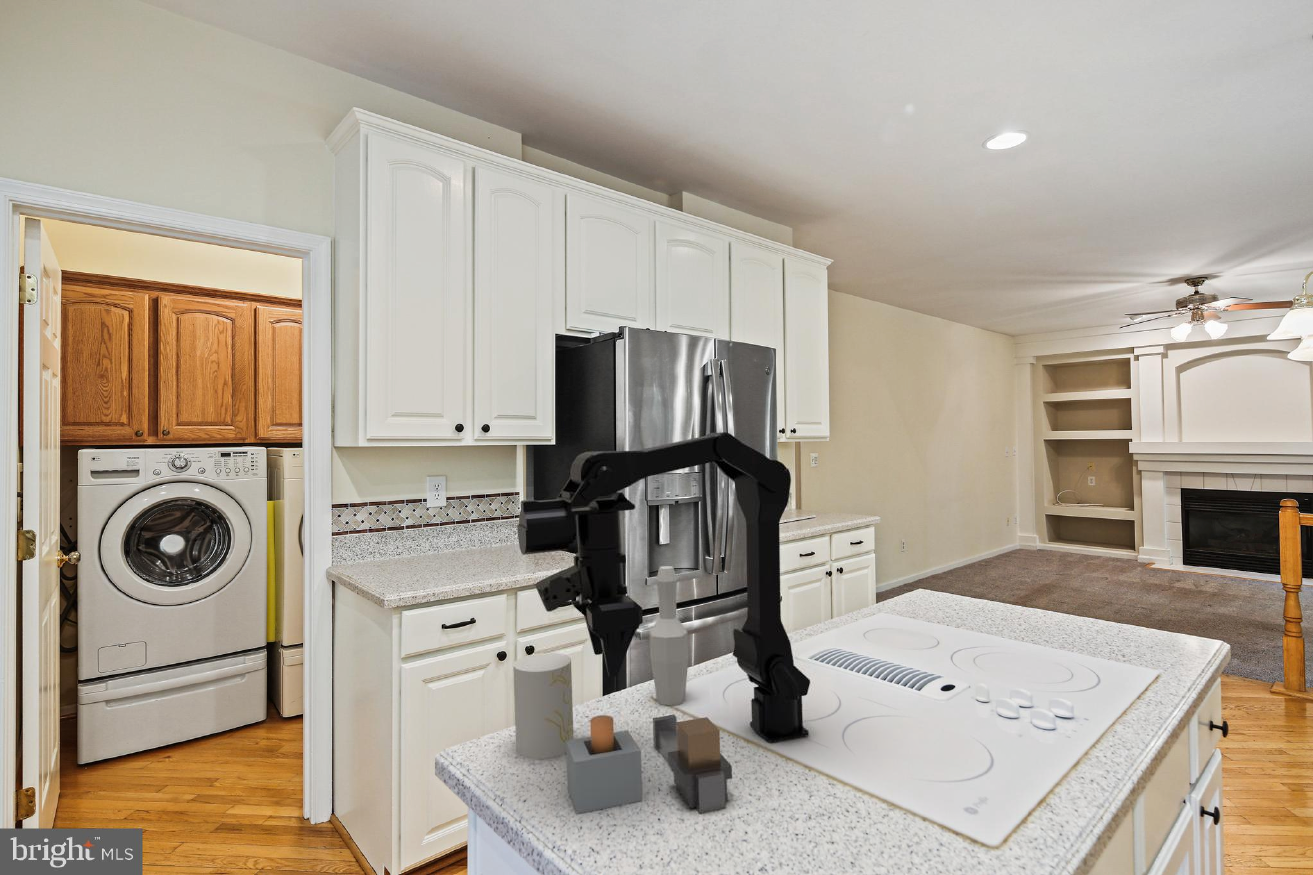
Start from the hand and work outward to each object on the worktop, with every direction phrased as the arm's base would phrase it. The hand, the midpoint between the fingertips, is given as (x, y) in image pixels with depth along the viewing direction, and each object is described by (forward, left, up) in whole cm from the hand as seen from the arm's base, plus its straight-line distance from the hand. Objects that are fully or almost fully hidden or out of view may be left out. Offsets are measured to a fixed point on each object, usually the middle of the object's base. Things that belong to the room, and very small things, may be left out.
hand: (605, 664), depth 87 cm
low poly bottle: (-15, -19, -14) cm, 28 cm away
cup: (+7, -10, -14) cm, 19 cm away
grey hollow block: (+2, +6, -14) cm, 15 cm away
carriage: (-9, +10, -14) cm, 19 cm away
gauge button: (+2, +6, -8) cm, 10 cm away
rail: (-9, +5, -14) cm, 17 cm away
